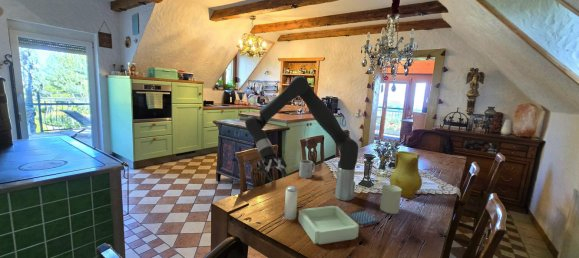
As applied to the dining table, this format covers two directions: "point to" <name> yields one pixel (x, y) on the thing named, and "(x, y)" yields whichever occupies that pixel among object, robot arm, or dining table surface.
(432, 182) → the dining table surface
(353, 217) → the woven mat
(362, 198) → the dining table surface
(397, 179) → the pitcher
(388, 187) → the can
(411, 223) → the dining table surface
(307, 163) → the mug
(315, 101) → the robot arm
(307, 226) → the sage bin
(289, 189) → the salt shaker
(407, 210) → the dining table surface
